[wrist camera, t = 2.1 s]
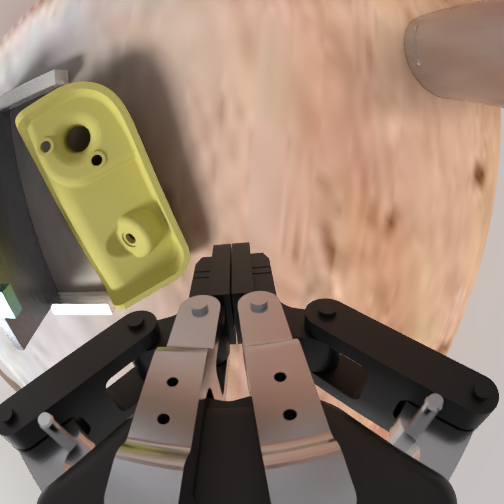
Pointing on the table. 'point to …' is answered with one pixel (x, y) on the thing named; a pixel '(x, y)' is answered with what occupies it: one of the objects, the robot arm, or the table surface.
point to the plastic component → (106, 190)
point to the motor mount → (29, 239)
